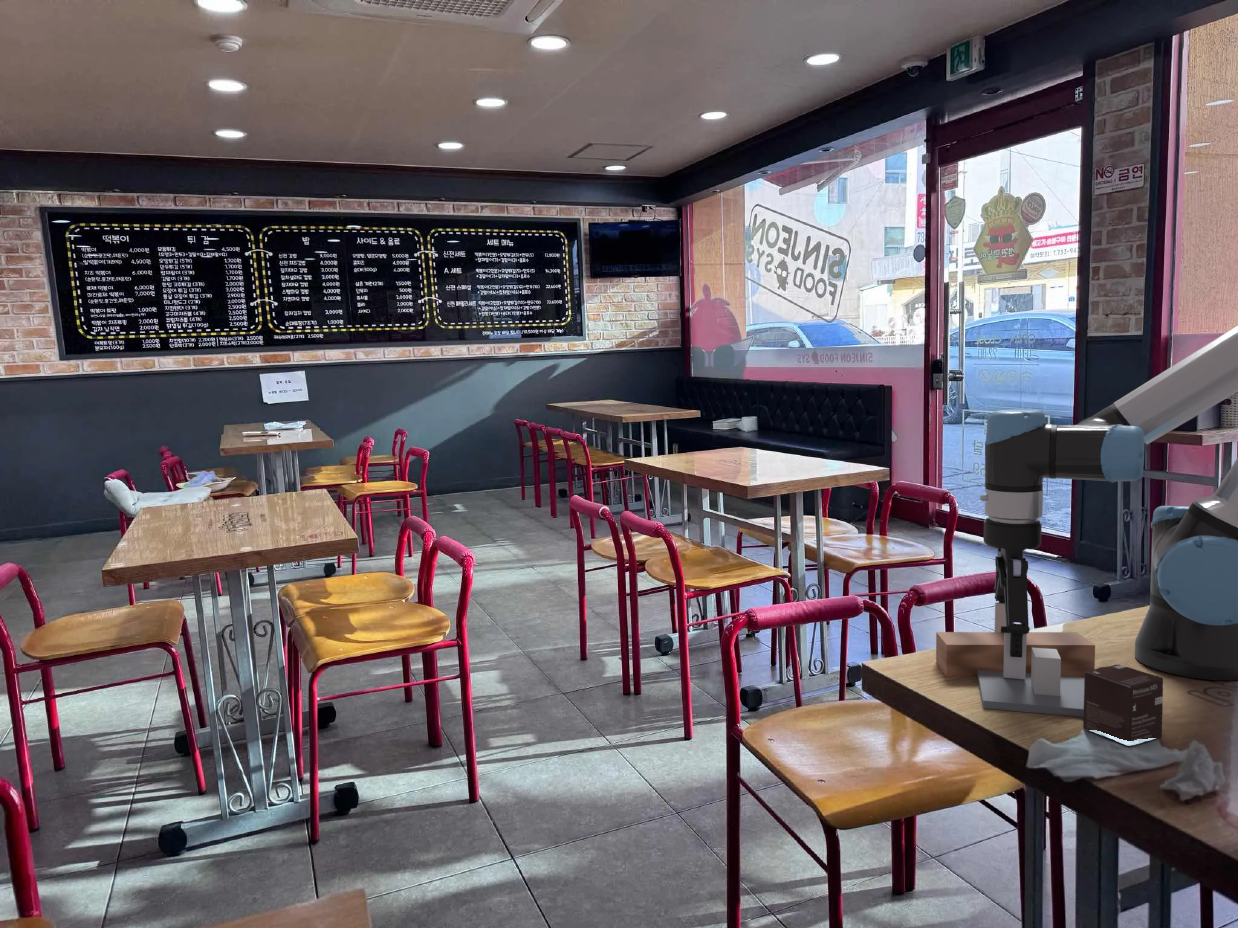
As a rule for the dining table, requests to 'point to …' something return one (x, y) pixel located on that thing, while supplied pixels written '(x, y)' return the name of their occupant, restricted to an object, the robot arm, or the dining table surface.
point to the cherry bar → (986, 652)
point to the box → (1123, 702)
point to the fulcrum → (1034, 688)
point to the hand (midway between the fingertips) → (1008, 662)
